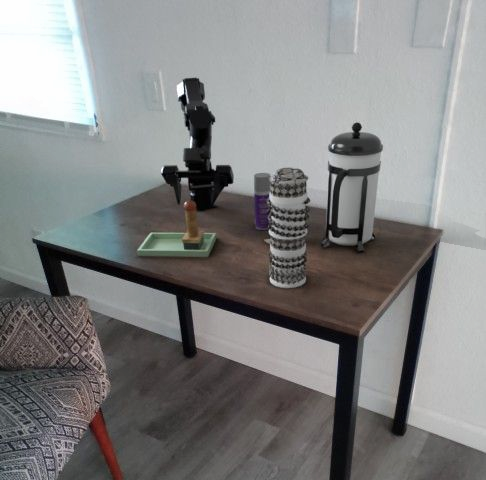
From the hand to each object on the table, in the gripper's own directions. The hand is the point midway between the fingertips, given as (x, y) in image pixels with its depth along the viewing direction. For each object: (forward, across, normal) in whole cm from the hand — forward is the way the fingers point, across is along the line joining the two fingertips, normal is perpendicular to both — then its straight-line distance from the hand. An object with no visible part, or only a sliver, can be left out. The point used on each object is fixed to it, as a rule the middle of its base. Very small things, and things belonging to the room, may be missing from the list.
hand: (195, 204), depth 130 cm
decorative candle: (+23, +26, -8) cm, 35 cm away
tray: (+11, -4, +4) cm, 13 cm away
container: (0, +17, +15) cm, 23 cm away
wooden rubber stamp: (+11, 0, +3) cm, 11 cm away
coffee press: (+9, +40, +6) cm, 42 cm away
